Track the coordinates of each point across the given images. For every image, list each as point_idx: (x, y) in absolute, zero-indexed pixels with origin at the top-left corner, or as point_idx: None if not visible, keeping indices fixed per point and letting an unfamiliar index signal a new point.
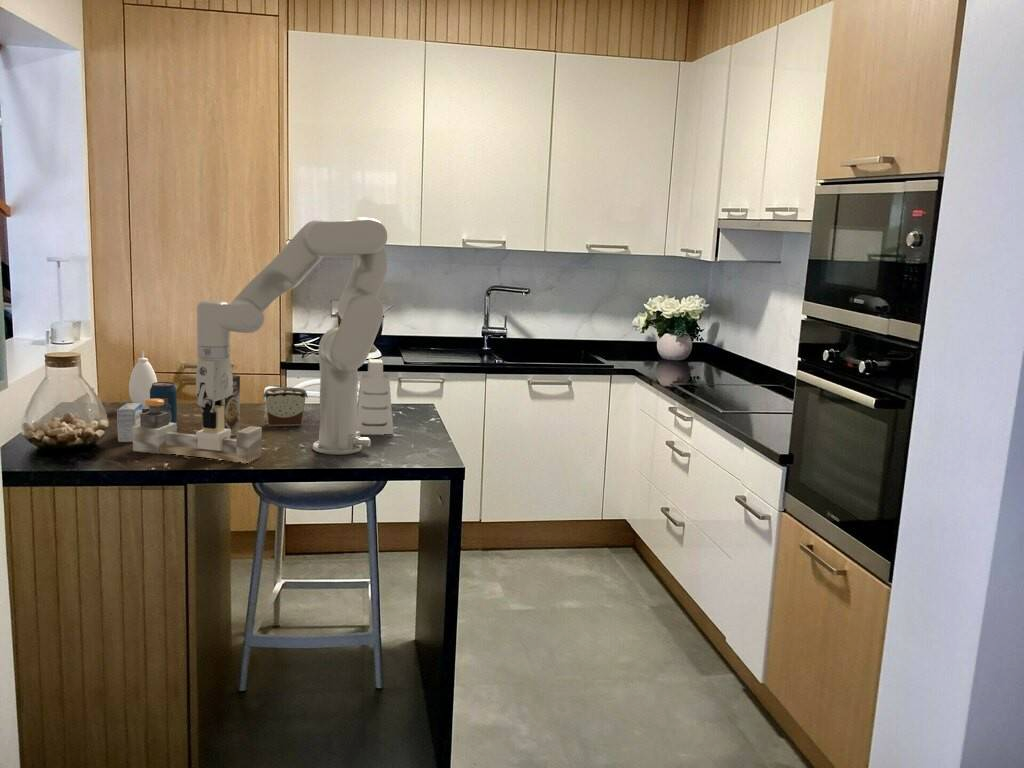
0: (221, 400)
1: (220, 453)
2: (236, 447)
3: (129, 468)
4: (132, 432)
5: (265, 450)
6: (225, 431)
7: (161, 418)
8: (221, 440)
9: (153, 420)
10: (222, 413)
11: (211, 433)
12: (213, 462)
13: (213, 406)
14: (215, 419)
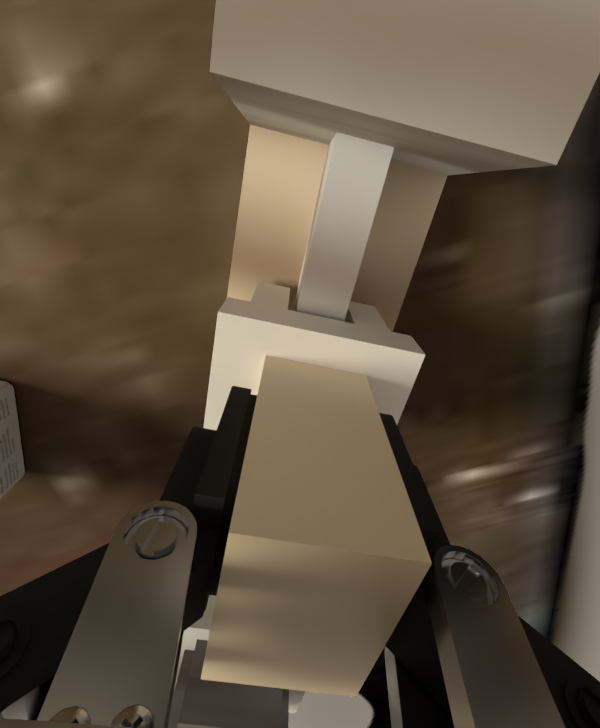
0: (170, 677)
1: (383, 297)
2: (474, 172)
3: (526, 554)
4: None
5: (90, 51)
6: (316, 332)
7: (259, 706)
8: (369, 324)
9: (287, 713)
10: (291, 463)
11: (398, 410)
12: (436, 306)
13: (495, 645)
14: (407, 465)
